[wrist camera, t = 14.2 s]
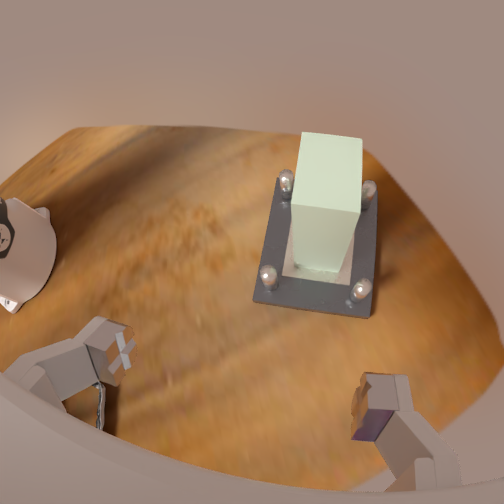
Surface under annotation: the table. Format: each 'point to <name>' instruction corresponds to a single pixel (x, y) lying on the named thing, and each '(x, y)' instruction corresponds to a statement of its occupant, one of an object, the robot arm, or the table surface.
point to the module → (325, 200)
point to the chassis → (310, 280)
